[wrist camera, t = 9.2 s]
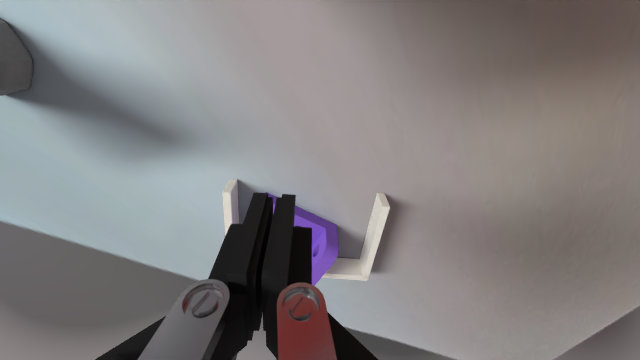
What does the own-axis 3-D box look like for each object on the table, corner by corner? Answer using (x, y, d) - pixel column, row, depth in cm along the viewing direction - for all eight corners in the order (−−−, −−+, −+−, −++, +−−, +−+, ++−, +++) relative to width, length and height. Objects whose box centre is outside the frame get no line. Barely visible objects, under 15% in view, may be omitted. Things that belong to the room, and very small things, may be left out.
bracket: (336, 223, 41) (339, 255, 35) (314, 251, 44) (314, 285, 38) (266, 191, 38) (257, 220, 32) (247, 223, 41) (236, 256, 35)
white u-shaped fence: (230, 178, 37) (222, 192, 33) (384, 193, 38) (390, 207, 35) (234, 254, 44) (228, 271, 41) (364, 263, 45) (367, 280, 42)
